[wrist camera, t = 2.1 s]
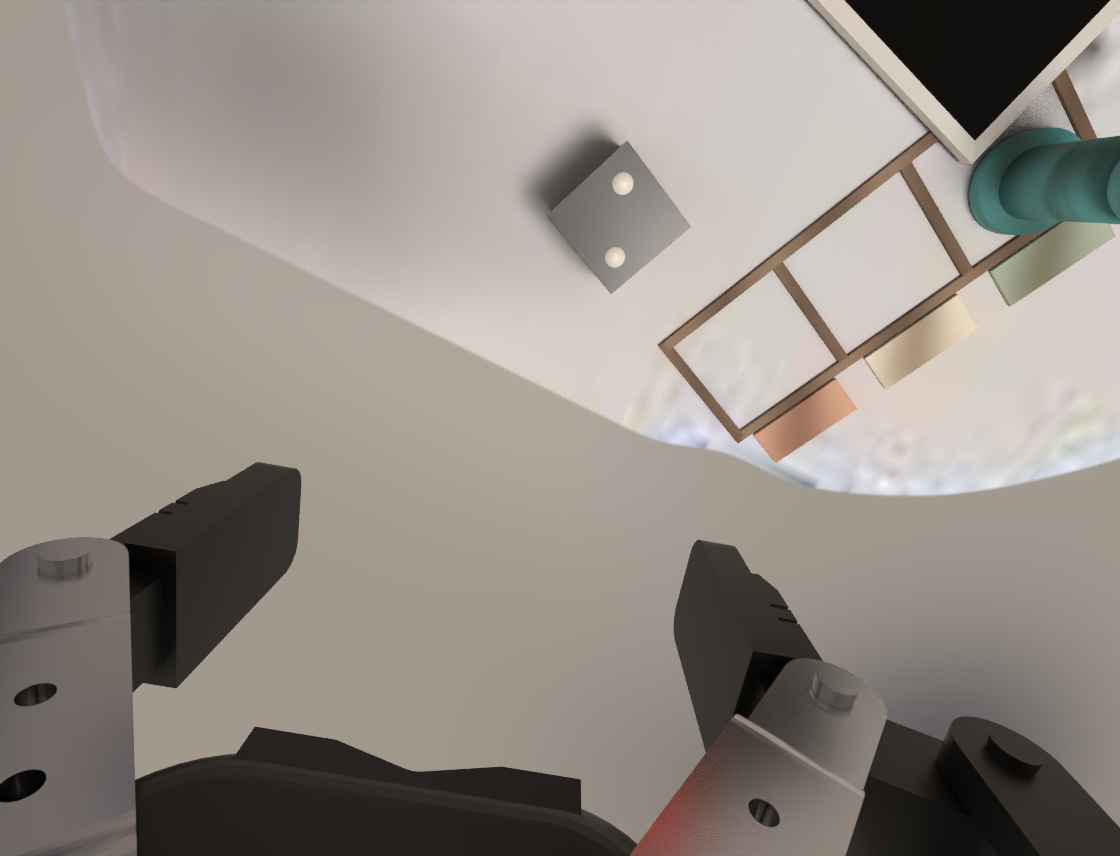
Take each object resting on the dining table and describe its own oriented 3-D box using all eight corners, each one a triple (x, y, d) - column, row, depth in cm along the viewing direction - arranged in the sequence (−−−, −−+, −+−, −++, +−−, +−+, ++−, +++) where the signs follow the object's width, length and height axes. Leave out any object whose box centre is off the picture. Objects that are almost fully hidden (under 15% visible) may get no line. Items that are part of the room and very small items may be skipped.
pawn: (1046, 107, 30) (1283, 58, 20) (1088, 189, 31) (1331, 184, 21) (951, 178, 31) (1125, 167, 21) (995, 254, 33) (1179, 278, 22)
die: (619, 146, 31) (627, 140, 27) (675, 221, 33) (691, 227, 28) (550, 211, 33) (545, 216, 28) (606, 280, 34) (610, 295, 29)
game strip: (1048, 39, 29) (1051, 37, 28) (1132, 222, 32) (1135, 222, 32) (658, 345, 35) (659, 346, 35) (760, 470, 39) (761, 472, 38)
